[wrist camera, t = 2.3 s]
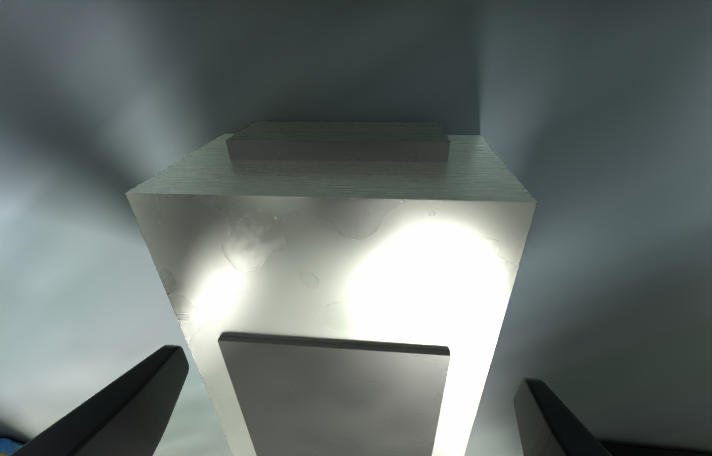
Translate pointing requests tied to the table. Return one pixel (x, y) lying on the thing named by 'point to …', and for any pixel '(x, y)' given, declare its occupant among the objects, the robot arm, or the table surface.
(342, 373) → the drive
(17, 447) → the snack cup
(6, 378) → the table surface
